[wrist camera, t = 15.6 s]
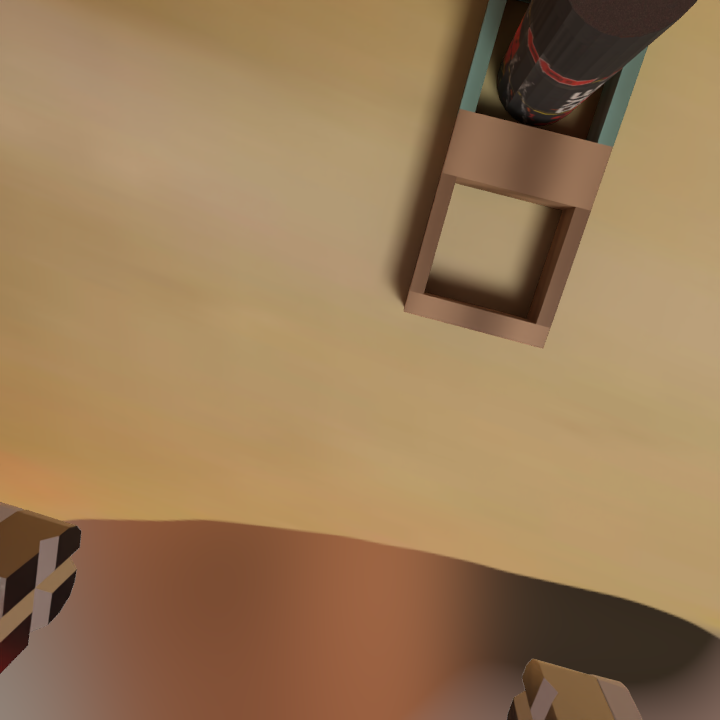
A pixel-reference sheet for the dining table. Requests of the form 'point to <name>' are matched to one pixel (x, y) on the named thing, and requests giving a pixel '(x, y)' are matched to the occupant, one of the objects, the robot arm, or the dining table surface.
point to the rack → (520, 189)
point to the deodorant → (575, 51)
